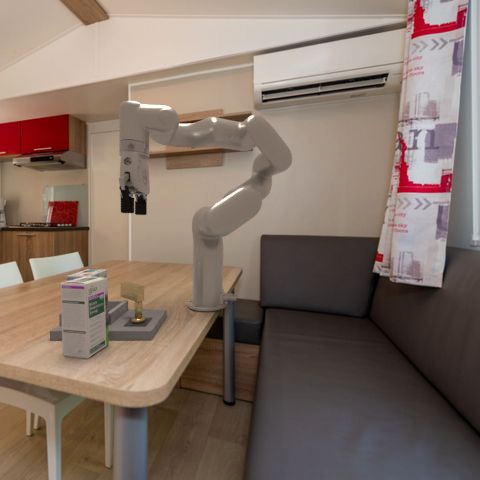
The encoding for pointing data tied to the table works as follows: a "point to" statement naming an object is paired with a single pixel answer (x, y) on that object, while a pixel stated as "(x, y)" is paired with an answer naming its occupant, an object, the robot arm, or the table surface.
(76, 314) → the syrup box
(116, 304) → the plate
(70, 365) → the table surface
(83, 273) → the light bulb box
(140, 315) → the brass key
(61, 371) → the table surface
